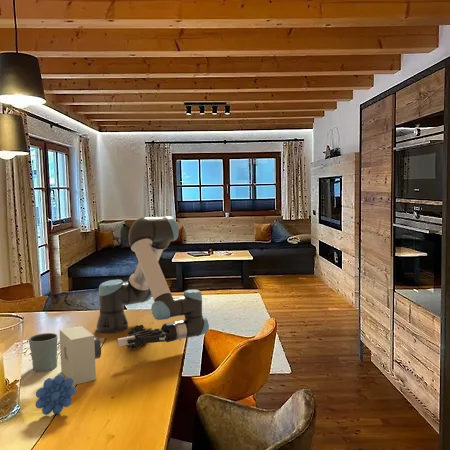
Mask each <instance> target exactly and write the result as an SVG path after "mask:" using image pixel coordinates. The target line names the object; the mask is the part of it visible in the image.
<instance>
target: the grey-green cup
mask: <svg viewBox="0 0 450 450" xmlns="http://www.w3.org/2000/svg"><path fill="white" fill-rule="evenodd" d="M28 343H29V348H30V349H29V350H30V356H31V360H32V362H31V363H32V369H33V371H34V372H49V371H52V370H54V369H55V368H57V366H58V358H57V356H58V334H56V333H55V332H54V333H53V332H47V333H45V332H44V333H40V334H35V335H32V336H30V337H29V338H28Z"/></svg>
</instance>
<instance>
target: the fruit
mask: <svg viewBox="0 0 450 450" xmlns="http://www.w3.org/2000/svg"><path fill="white" fill-rule="evenodd" d="M144 330H147V329H146V328H144V325H143V324H139V325H138V324H136V325H135V326H132V327H130V330H129V331H128V333H127V334H128V335H127V337H129V336H133V334H134V333H137V332H141V331H144ZM143 345H144V344H139V343H138V344H137V343H135V344H129V345H126V347H128V348H129V349H130V350H132V351H134V350H135V349H138V348H139V347H140V346H143Z"/></svg>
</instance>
